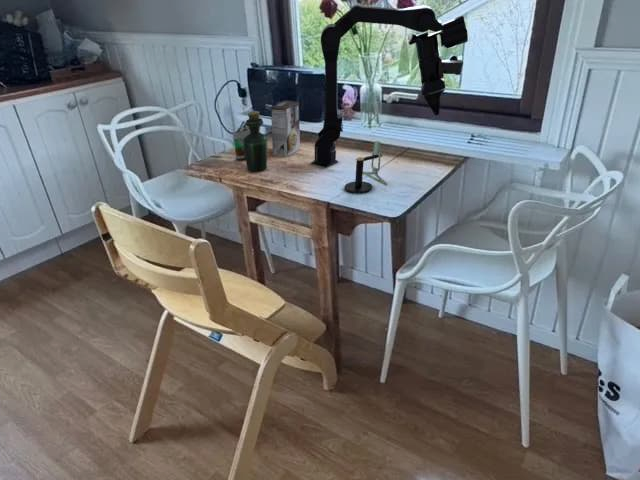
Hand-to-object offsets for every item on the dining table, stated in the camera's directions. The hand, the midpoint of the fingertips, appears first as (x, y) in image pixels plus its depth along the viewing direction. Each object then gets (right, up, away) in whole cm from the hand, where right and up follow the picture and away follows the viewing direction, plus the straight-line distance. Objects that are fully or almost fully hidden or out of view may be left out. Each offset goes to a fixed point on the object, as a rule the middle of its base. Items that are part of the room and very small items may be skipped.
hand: (436, 111), depth 155 cm
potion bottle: (-53, -11, +19) cm, 58 cm away
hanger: (-19, -21, -2) cm, 29 cm away
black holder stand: (-23, -23, -2) cm, 33 cm away
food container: (-56, -3, +30) cm, 63 cm away
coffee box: (-42, -1, +30) cm, 52 cm away
